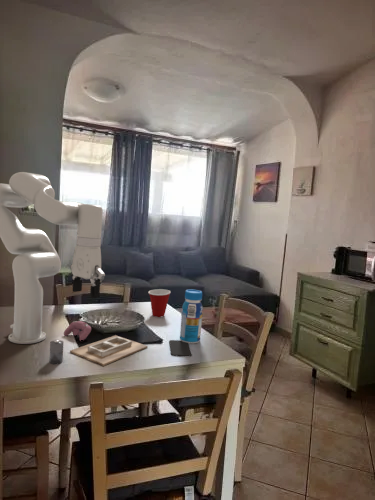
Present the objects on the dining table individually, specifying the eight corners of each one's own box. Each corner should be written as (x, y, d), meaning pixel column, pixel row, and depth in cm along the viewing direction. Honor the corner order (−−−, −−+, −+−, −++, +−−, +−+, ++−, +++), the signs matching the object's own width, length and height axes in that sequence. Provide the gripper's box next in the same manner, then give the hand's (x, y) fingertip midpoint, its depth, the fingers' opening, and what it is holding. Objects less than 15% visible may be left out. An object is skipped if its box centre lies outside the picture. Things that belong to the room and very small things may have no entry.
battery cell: (46, 361, 118) (47, 340, 117) (57, 358, 121) (58, 337, 121) (54, 365, 116) (55, 343, 115) (65, 361, 119) (66, 340, 118)
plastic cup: (144, 312, 183) (146, 288, 181) (165, 312, 186) (167, 288, 185) (148, 318, 172) (150, 293, 171) (171, 318, 176) (173, 293, 174)
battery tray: (70, 352, 127) (70, 345, 127) (115, 336, 145) (115, 331, 145) (103, 365, 118) (103, 359, 118) (147, 347, 137) (147, 341, 136)
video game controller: (88, 343, 140) (95, 325, 142) (80, 341, 137) (87, 322, 139) (69, 337, 145) (76, 320, 147) (61, 334, 141) (68, 317, 144)
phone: (187, 340, 146) (192, 355, 131) (187, 342, 146) (192, 357, 132) (168, 339, 145) (171, 354, 131) (168, 342, 146) (171, 356, 131)
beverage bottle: (174, 339, 148) (178, 289, 146) (189, 335, 154) (193, 287, 152) (189, 345, 142) (194, 294, 140) (204, 341, 148) (209, 292, 146)
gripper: (63, 239, 123) (60, 290, 125) (95, 246, 112) (91, 301, 114) (83, 239, 129) (80, 288, 131) (114, 245, 118) (111, 298, 120)
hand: (85, 294), depth 122 cm, fingers open, 9 cm apart
